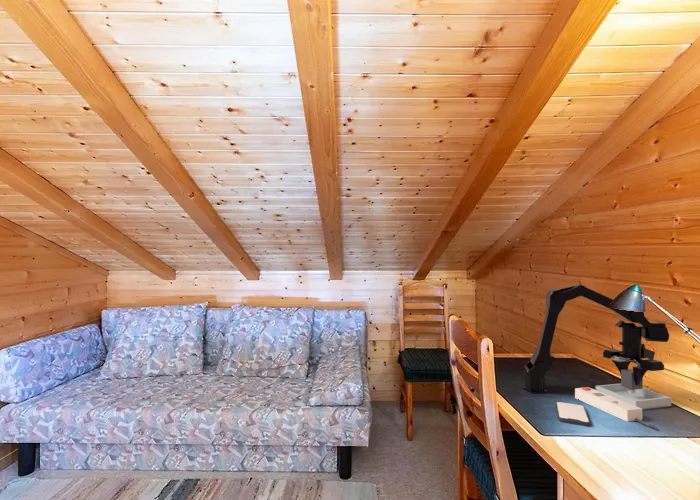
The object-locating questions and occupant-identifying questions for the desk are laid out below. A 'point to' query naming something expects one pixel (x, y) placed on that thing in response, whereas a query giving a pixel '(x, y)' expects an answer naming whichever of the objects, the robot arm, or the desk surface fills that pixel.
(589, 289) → the robot arm
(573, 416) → the phone case
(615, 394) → the tray
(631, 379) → the charger
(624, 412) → the power strip
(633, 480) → the desk surface
